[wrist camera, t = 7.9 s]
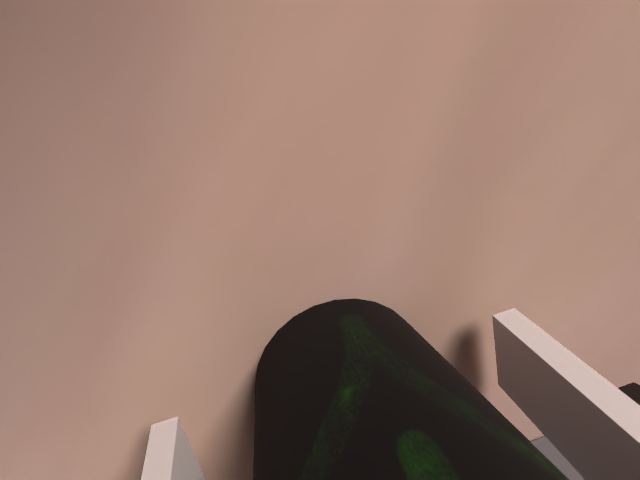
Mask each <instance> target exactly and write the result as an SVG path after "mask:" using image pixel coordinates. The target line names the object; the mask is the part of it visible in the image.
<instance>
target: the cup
mask: <svg viewBox="0 0 640 480" xmlns="http://www.w3.org/2000/svg"><path fill="white" fill-rule="evenodd" d="M253 480H569V479H568V478H567V477H566V476H565V475H564V474H563V473H562V472H561V471H560V470H559V469H558V468H557V467H556V466H555V465H554V464H553V463H552V462H551V461H550V460H549V459H548V458H546V457H545V456H544V455H543V454H542V453H541V452H540V451H539V450H538V449H537V448H536V447H535V446H534V445H533V444H532V443H531V442H530V441H529V440H528V439H527V438H526V437H525V436H524V435H523V434H522V433H521V432H520V431H519V430H518V429H517V428H516V427H515V426H514V425H512V424H511V423H510V422H509V421H508V420H507V419H506V418H505V417H504V416H503V415H502V414H501V413H500V412H499V411H498V410H497V409H496V408H495V407H494V406H493V405H492V404H491V403H490V402H489V401H488V400H487V399H486V398H485V397H484V396H483V395H482V394H481V393H480V392H478V391H477V390H476V389H475V388H474V387H473V386H472V385H471V384H470V383H469V382H468V381H467V380H466V379H465V378H464V377H463V376H462V375H461V374H460V373H459V372H458V371H457V370H456V369H455V368H454V367H453V366H452V365H451V364H450V363H449V362H448V361H447V360H446V359H445V358H443V357H442V356H441V355H440V354H439V353H438V352H437V351H436V350H435V349H434V348H433V347H432V346H431V345H430V344H429V343H428V342H427V341H426V340H425V339H424V338H423V337H422V336H421V335H420V334H419V333H418V332H417V331H416V330H415V329H414V328H413V327H412V326H411V325H409V324H408V323H407V322H406V321H405V320H404V319H403V318H402V317H401V316H399V315H398V314H397V313H396V312H395V311H393V310H392V309H390V308H388V307H385V306H383V305H381V304H379V303H376V302H372V301H366V300H360V299H343V300H333V301H330V302H326V303H323V304H319V305H316V306H313V307H311V308H309V309H307V310H306V311H304V312H302V313H300V314H298V315H296V316H294V317H293V318H292V319H291V320H290V321H288V322H287V323H286V324H285V325H284V326H283V327H281V328H280V329H279V330H278V331H277V332H276V334H275V335H274V336H273V338H272V339H271V340H270V342H269V343H268V345H267V346H266V347H265V350H264V352H263V354H262V357H261V359H260V362H259V364H258V368H257V376H256V386H255V426H254V467H253Z"/></svg>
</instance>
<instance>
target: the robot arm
mask: <svg viewBox="0 0 640 480" xmlns="http://www.w3.org/2000/svg"><path fill="white" fill-rule="evenodd" d="M492 317H493V328H494V340H495V351H496V362H497V374H498V385H499V386H500V387H501V388H502V389H503V390H504V391H505V392H506V393H507V395H508V396H509V397H510V398H511V399H512V400H513V401H514V402H515V403H516V404H517V406H518V407H519V408H520V409H521V410H522V411H523V412H524V413H525V414H526V415H527V417H528V418H529V419H530V420H531V421H532V422H533V423H534V424H535V425H536V426H537V428H538V429H539V430H540V431H541V432H542V433H543V434H544V435H545V436H546V437H547V439H548V440H549V441H550V442H551V443H552V444H553V445H554V446H555V447H556V448H557V450H558V451H559V452H560V453H561V454H562V455H563V456H564V457H565V458H566V459H567V460H568V462H569V463H570V464H571V465H572V466H573V467H574V468H575V469H576V470H577V471H578V473H579V474H580V475H581V476H582V477H583V478H584V479H585V480H640V385H638V384H636V383H634V382H633V383H631V384H628V385H625V386H622V387H619V388H617V387H615V386H614V385H613V384H611V383H610V382H609V381H608V380H606V379H605V378H604V377H603V376H601V375H600V374H599V373H597V372H596V371H595V370H594V369H592V368H591V367H590V366H588V365H587V364H586V363H585V362H583V361H582V360H581V359H579V358H578V357H577V356H576V355H574V354H573V353H572V352H570V351H569V350H568V349H567V348H565V347H564V346H563V345H561V344H560V343H559V342H558V341H556V340H555V339H554V338H552V337H551V336H550V335H549V334H547V333H546V332H545V331H543V330H542V329H541V328H540V327H538V326H537V325H536V324H534V323H533V322H532V321H531V320H529V319H528V318H527V317H526V316H524V315H523V314H522V313H520V312H519V311H518V310H517V309H515V308H513V309H510V310H507V311H504V312H501V313H498V314H494V315H492ZM141 480H206V479H205V477H204V474H203V472H202V470H201V467H200V465H199V463H198V460H197V458H196V456H195V454H194V451H193V449H192V447H191V444H190V442H189V440H188V437H187V435H186V433H185V431H184V428H183V426H182V424H181V421H180V419H179V417H178V416H177V417H174V418H171V419H168V420H165V421H162V422H158V423H155V424H152V425H151V430H150V435H149V441H148V446H147V451H146V456H145V461H144V466H143V471H142V477H141Z"/></svg>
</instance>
